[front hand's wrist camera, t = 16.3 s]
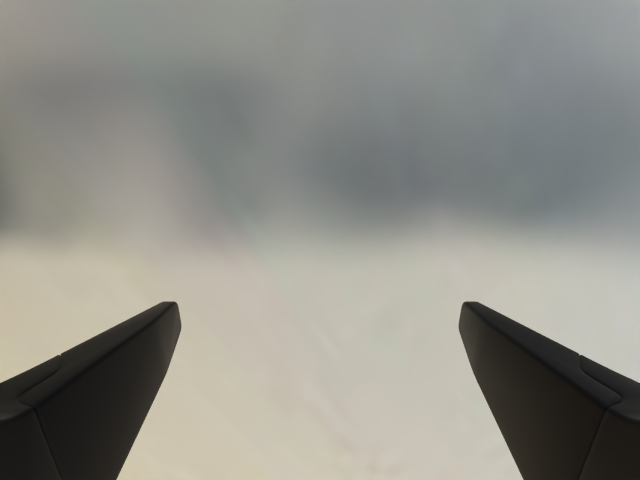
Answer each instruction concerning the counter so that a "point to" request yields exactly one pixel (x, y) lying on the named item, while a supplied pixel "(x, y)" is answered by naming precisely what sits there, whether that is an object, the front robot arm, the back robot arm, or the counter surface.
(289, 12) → the counter surface
